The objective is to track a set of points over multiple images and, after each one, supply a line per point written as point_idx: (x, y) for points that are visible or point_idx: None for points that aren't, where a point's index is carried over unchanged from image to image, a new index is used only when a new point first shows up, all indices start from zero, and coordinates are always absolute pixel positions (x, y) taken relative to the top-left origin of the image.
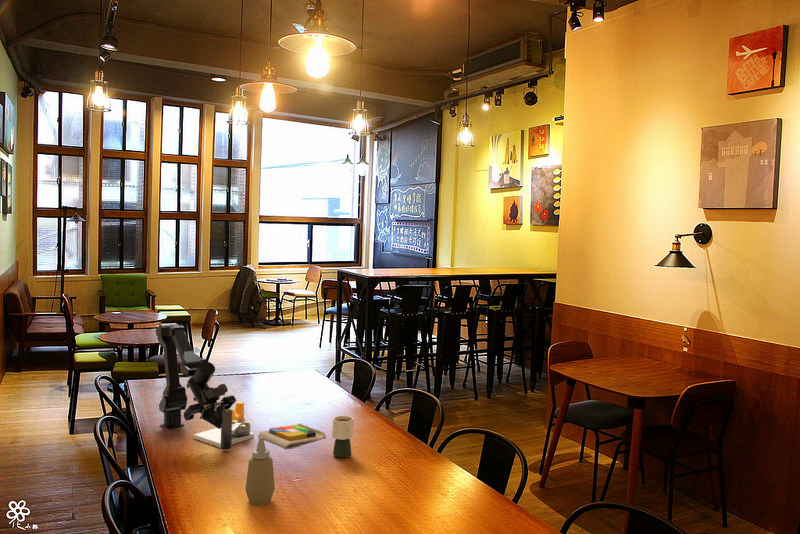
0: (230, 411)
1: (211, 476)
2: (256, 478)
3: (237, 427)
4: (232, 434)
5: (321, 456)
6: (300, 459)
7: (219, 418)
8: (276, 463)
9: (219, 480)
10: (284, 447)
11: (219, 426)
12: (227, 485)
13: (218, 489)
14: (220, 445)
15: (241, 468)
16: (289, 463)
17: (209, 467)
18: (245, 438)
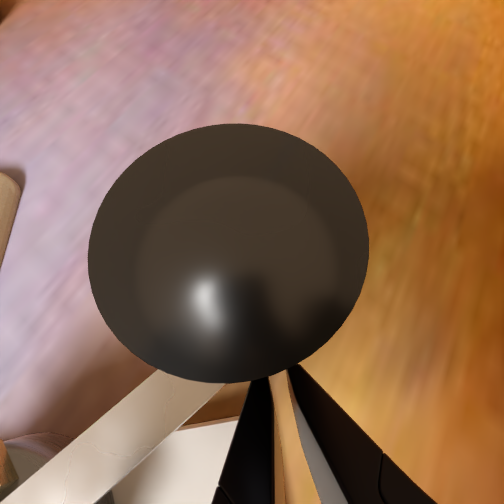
0: (205, 128)
1: (449, 100)
2: None
3: (47, 464)
4: (101, 501)
5: (13, 50)
6: (85, 64)
7: (277, 478)
8: (176, 77)
9: (433, 60)
10: (17, 186)
11: (307, 373)
12: (422, 20)
13: (460, 12)
14: None
15: (312, 104)
16: (142, 56)
17: (427, 180)
18: None
